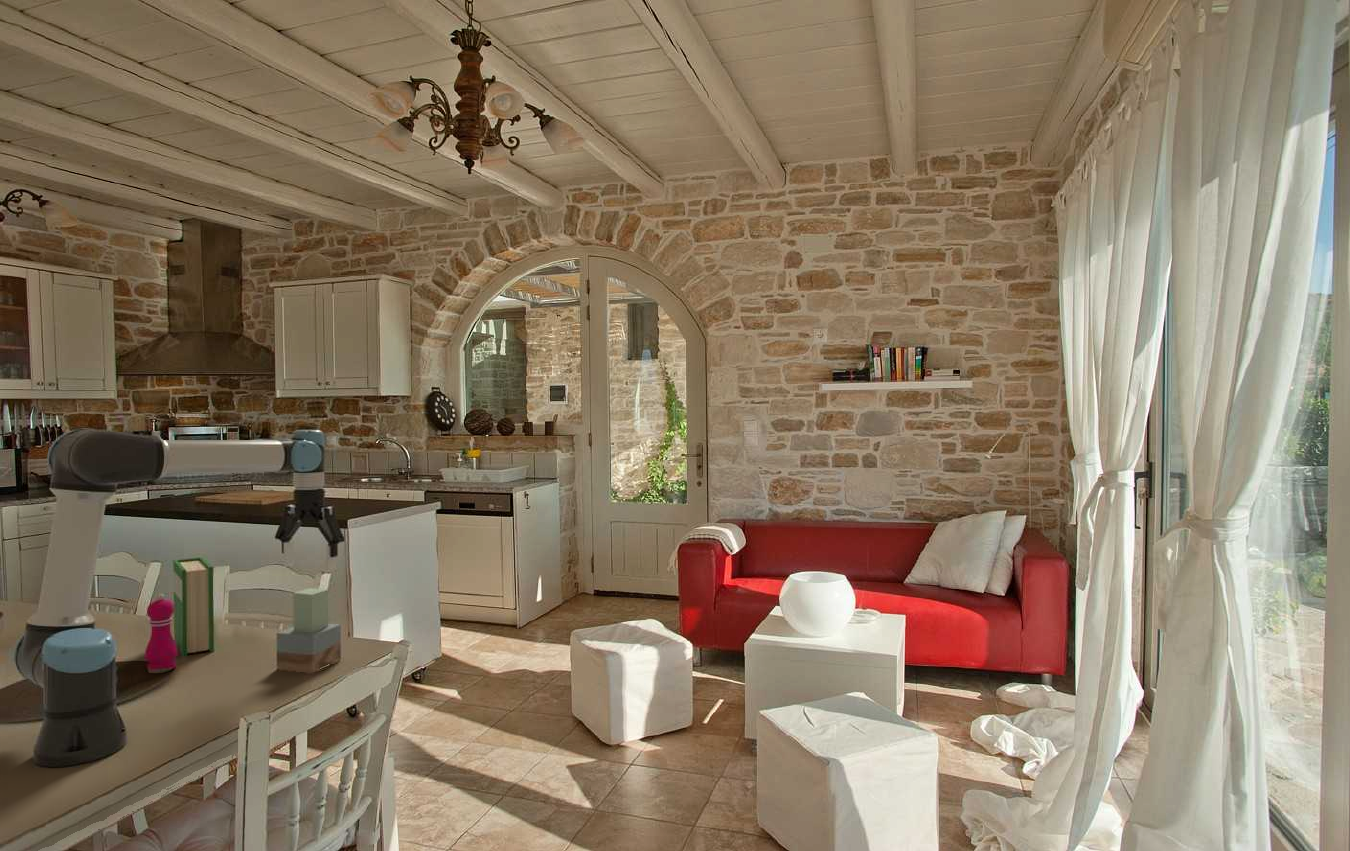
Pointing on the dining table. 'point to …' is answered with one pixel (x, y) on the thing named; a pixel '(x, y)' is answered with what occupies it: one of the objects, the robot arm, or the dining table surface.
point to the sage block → (310, 609)
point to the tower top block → (308, 640)
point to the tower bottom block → (308, 660)
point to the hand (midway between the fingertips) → (309, 567)
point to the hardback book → (193, 605)
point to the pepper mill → (161, 635)
